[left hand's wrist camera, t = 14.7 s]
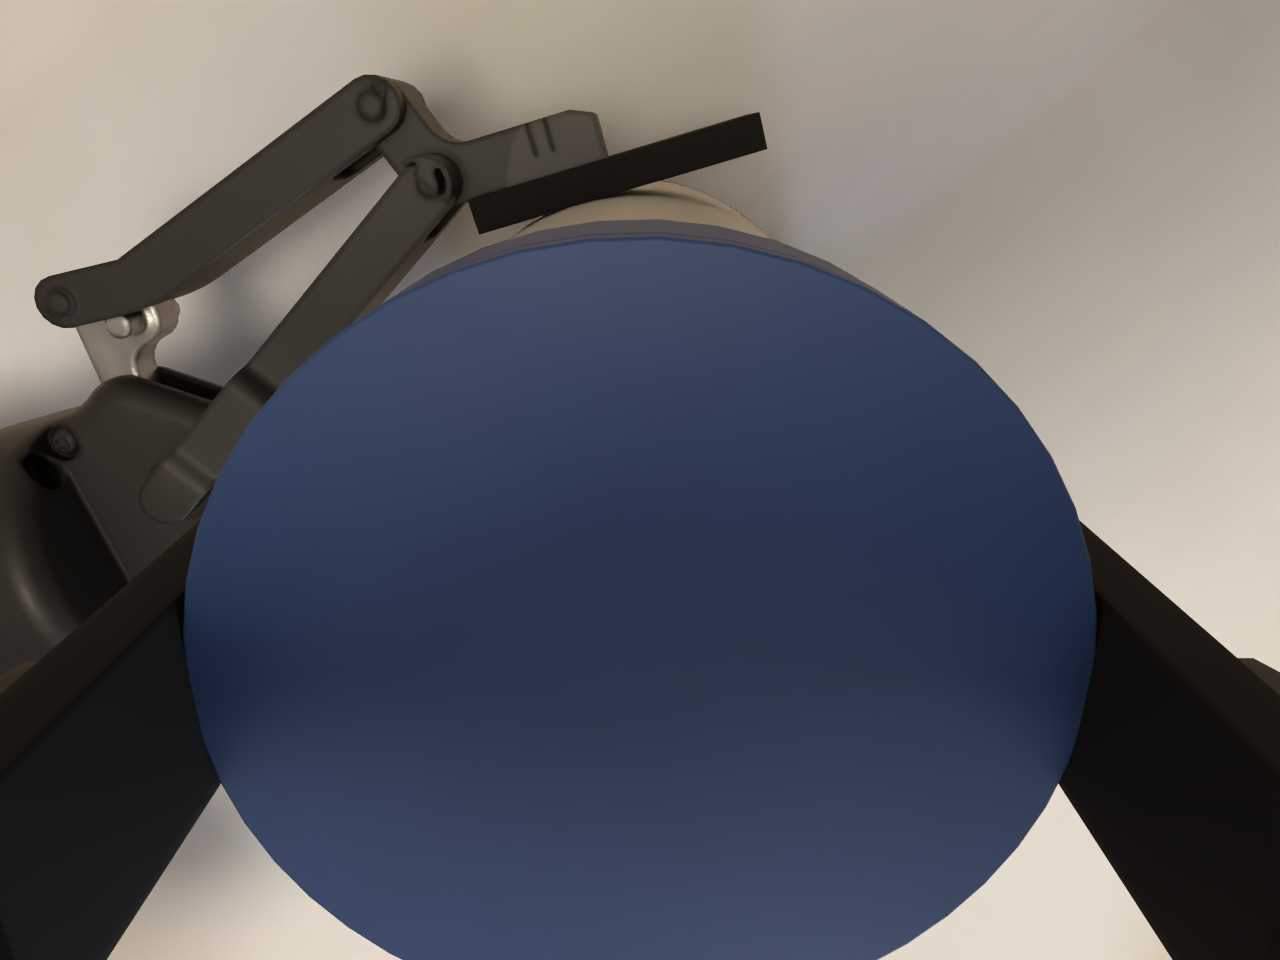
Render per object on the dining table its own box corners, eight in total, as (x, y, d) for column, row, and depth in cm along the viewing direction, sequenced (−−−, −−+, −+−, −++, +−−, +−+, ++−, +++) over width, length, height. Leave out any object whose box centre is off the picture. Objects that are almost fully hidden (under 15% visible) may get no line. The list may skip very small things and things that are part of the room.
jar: (831, 444, 29) (1095, 868, 12) (546, 528, 30) (425, 1023, 13) (752, 133, 26) (969, 123, 9) (432, 241, 27) (73, 420, 10)
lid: (1058, 176, 10) (1153, 185, 8) (1002, 879, 14) (1057, 993, 12) (154, 261, 10) (49, 289, 9) (346, 923, 14) (302, 1040, 13)
